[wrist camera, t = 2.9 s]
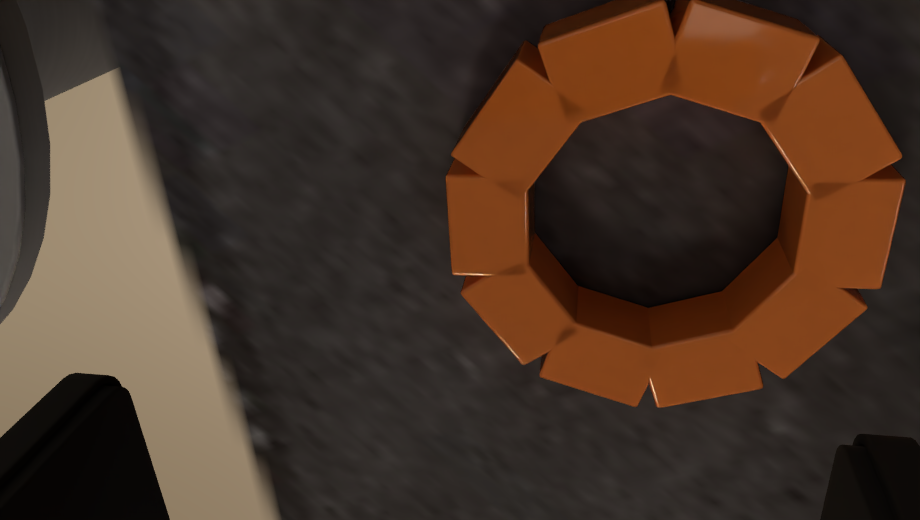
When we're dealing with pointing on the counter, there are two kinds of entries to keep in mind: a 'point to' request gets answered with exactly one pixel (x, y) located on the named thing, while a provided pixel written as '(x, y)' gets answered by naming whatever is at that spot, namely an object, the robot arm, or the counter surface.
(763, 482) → the counter surface
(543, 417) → the counter surface
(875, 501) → the robot arm
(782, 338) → the ring
